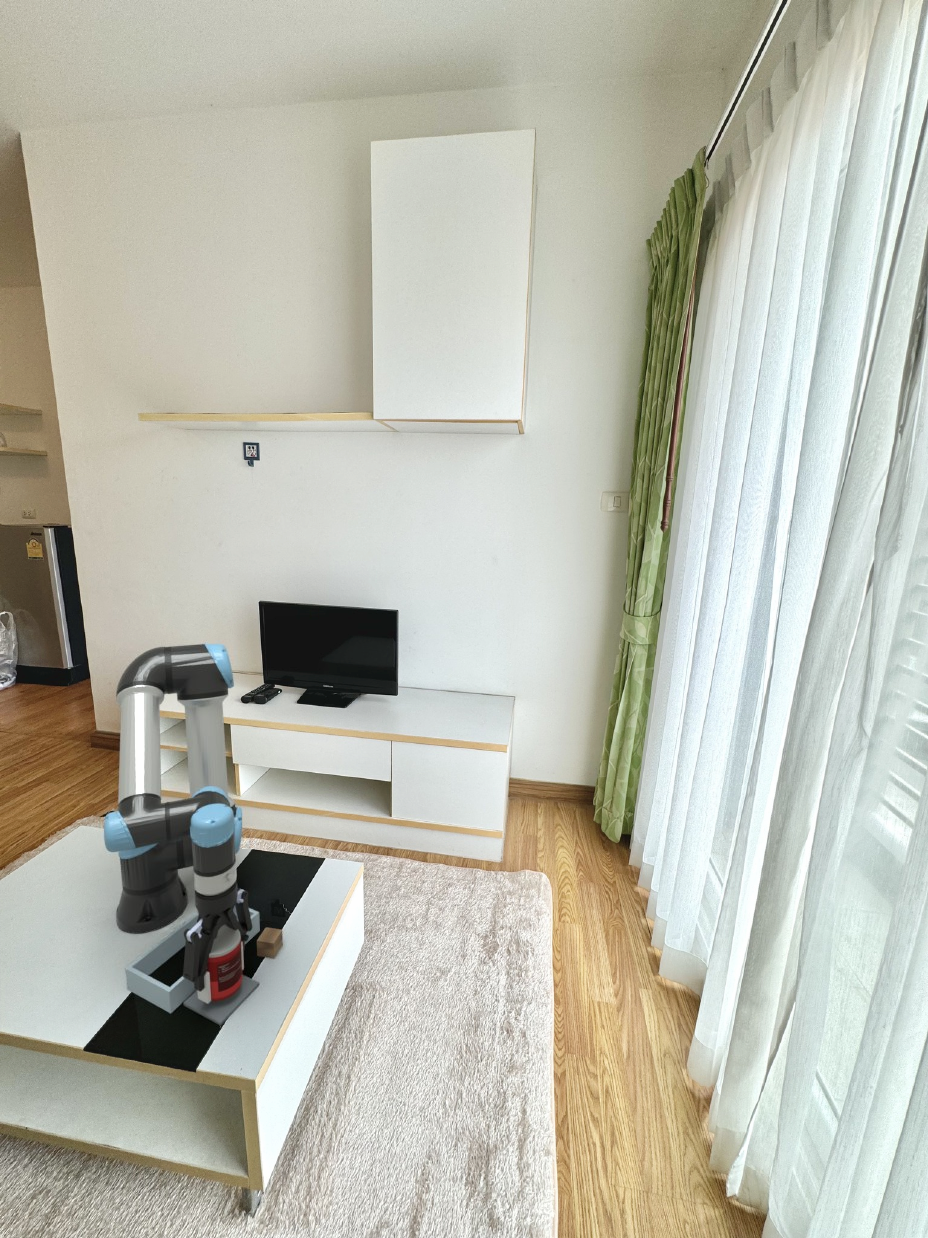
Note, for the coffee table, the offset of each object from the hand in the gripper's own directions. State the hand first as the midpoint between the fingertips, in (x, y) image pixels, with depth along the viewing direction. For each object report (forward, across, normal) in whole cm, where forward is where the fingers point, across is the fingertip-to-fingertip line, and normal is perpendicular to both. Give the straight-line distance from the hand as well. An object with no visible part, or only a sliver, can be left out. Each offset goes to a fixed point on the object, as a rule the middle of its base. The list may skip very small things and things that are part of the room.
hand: (221, 983), depth 109 cm
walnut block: (+3, +13, 0) cm, 13 cm away
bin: (+3, +4, +12) cm, 13 cm away
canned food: (+1, 0, 0) cm, 1 cm away
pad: (+3, 0, 0) cm, 3 cm away
